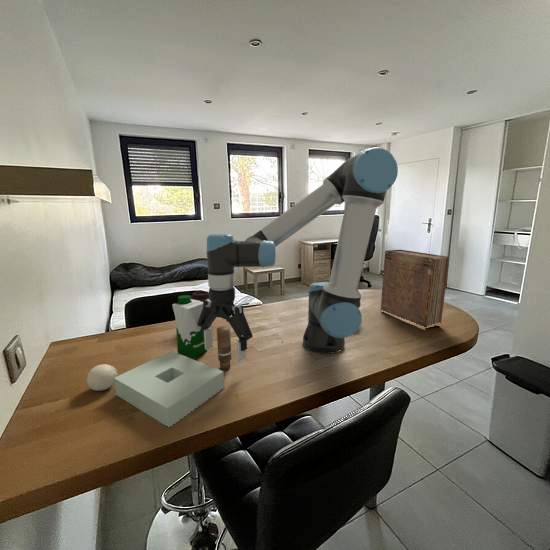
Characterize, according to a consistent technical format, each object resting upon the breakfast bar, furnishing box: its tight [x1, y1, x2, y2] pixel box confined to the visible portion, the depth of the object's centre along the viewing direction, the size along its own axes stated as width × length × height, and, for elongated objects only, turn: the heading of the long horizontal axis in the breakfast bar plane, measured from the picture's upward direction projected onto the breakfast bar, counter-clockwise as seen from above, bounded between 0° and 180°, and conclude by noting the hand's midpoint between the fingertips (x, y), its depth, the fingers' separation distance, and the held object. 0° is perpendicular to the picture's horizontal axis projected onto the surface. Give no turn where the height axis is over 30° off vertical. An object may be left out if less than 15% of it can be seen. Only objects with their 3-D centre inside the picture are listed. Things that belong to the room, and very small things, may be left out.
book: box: [380, 249, 450, 327], centre depth 127 cm, size 25×9×30 cm, turn 23°
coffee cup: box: [190, 290, 213, 328], centre depth 120 cm, size 10×10×15 cm
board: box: [113, 350, 225, 428], centre depth 78 cm, size 22×18×5 cm
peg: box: [216, 325, 232, 372], centre depth 89 cm, size 4×4×13 cm
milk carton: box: [172, 294, 208, 360], centre depth 97 cm, size 9×9×20 cm
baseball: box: [86, 363, 119, 392], centre depth 79 cm, size 7×7×7 cm
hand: (224, 353), depth 89 cm, fingers open, 13 cm apart
